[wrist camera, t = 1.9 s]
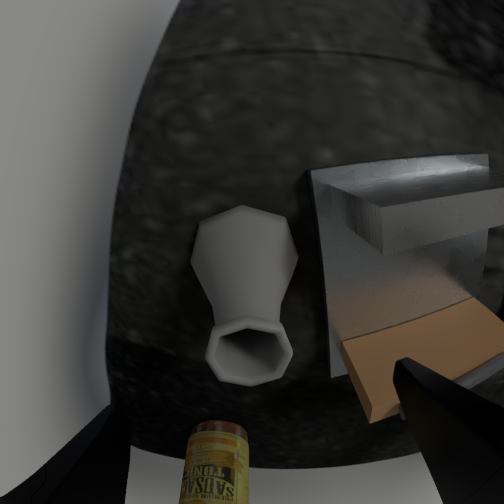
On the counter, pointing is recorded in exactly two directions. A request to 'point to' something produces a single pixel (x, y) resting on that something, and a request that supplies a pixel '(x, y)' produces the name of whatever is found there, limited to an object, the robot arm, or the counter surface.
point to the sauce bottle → (216, 465)
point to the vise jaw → (425, 353)
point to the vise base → (392, 274)
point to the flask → (246, 292)
